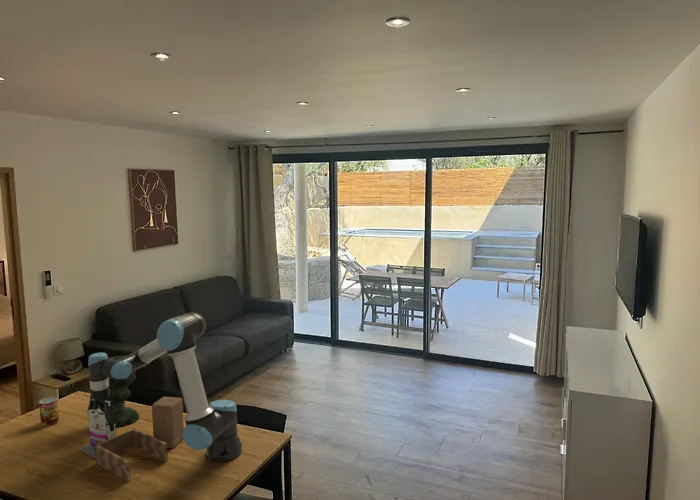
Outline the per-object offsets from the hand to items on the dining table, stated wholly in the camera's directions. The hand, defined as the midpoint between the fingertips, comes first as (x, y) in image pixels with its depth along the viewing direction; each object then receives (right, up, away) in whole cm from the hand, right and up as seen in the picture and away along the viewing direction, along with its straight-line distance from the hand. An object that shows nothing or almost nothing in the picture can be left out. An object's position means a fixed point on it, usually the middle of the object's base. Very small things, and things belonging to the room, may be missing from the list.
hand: (103, 433), depth 218 cm
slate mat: (0, -7, +1) cm, 7 cm away
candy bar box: (0, -6, +1) cm, 6 cm away
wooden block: (+28, -6, +5) cm, 29 cm away
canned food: (-39, -4, +25) cm, 47 cm away
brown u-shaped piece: (+19, -8, -12) cm, 24 cm away
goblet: (-6, -4, +28) cm, 28 cm away
